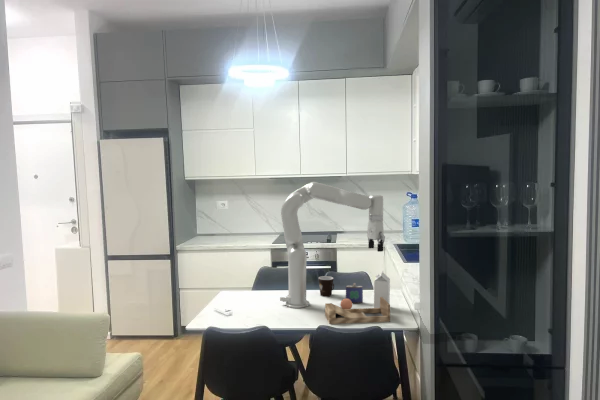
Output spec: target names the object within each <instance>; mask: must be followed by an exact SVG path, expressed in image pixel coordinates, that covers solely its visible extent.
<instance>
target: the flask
mask: <svg viewBox="0 0 600 400" xmlns="http://www.w3.org/2000/svg"><path fill="white" fill-rule="evenodd" d="M356 284H357V283H356V282H354V283H353V284H349V285H346V286H345V299H346V298H347V299H350V300H351V302H352V304H363V303H364V299H363V297H364V294H363V291H364V289H363V288H364V286H362V285H356Z"/></svg>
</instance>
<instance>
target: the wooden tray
mask: <svg viewBox="0 0 600 400" xmlns="http://www.w3.org/2000/svg"><path fill="white" fill-rule="evenodd" d="M324 309H325V310H324V316H325V318H326V320H327V322H328V323H329V325H335V324H339V325H340V324H357V323H358V324H361V323H364V324H365V323H382V322H383V323H384V322H391V304H389V303H388V302H387V301H386V300H385V299H384V298H383V297H380V308H374V307H370V308H369V307H367V308H364V307H362V308H351V309H343V308H341V306H338V305H336V304H334V303H330V302H327V303H325V305H324ZM336 316H341V317H336Z"/></svg>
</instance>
